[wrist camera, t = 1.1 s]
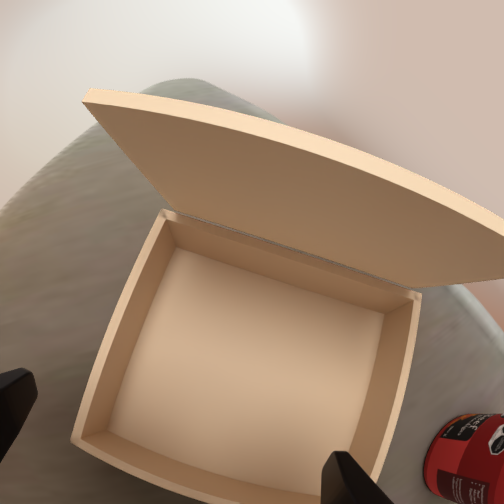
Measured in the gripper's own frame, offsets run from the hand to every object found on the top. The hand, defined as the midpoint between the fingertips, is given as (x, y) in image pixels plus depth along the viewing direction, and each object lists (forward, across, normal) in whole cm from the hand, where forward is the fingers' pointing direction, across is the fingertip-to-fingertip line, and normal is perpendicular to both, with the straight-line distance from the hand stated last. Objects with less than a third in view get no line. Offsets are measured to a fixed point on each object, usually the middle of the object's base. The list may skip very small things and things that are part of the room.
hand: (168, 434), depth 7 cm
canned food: (+9, -22, +11) cm, 26 cm away
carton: (+12, -3, +7) cm, 14 cm away
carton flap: (+7, -4, -5) cm, 10 cm away
